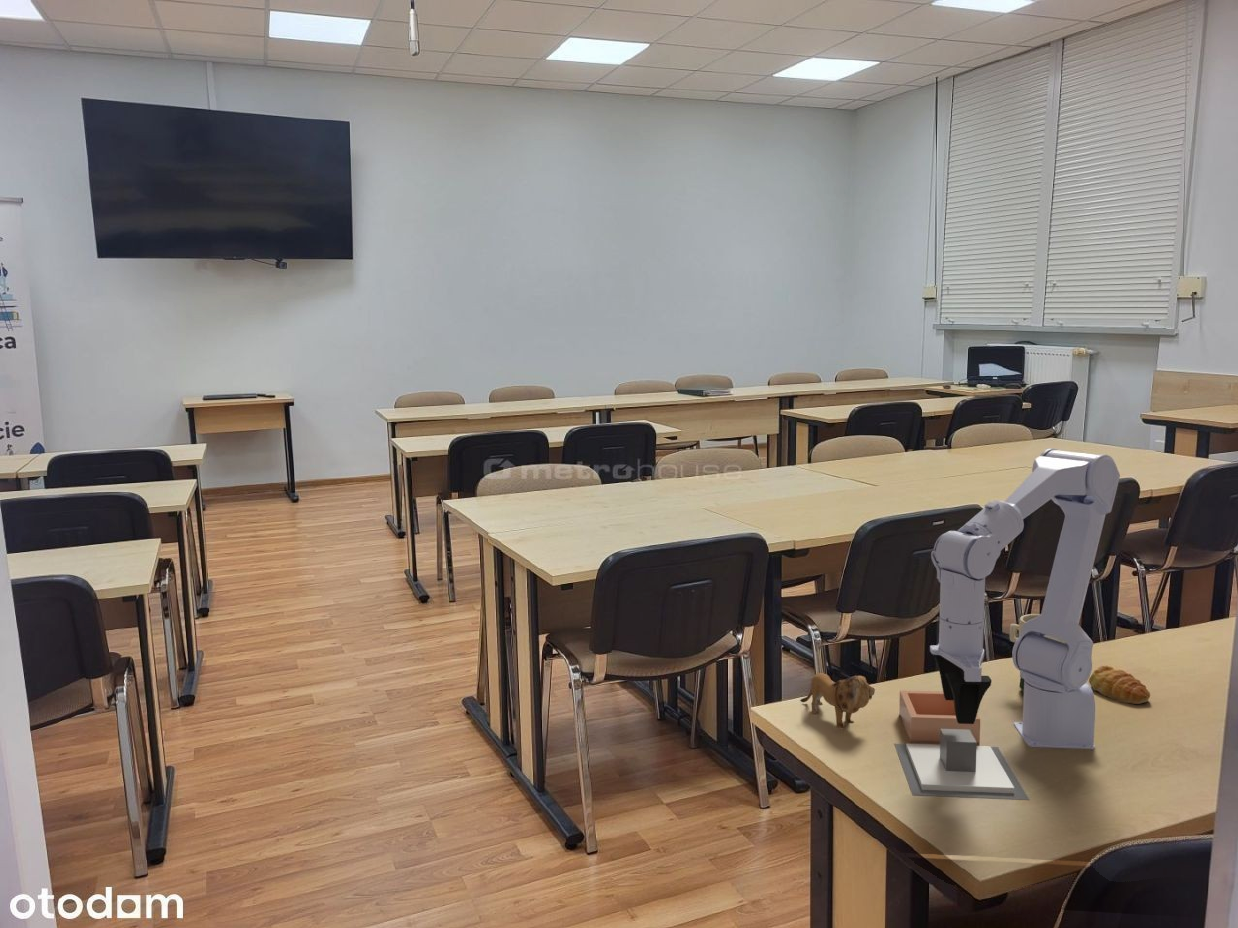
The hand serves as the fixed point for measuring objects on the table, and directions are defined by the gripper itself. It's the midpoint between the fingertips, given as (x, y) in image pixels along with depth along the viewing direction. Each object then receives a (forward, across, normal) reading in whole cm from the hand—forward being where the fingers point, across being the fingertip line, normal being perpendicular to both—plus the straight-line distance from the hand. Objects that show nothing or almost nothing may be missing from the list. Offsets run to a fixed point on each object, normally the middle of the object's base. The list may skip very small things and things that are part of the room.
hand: (958, 710), depth 125 cm
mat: (+9, 0, 0) cm, 9 cm away
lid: (+9, 0, 0) cm, 9 cm away
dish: (+9, -13, 0) cm, 16 cm away
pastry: (+10, -30, +33) cm, 46 cm away
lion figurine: (+10, -16, -15) cm, 24 cm away
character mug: (+9, -29, +20) cm, 36 cm away
